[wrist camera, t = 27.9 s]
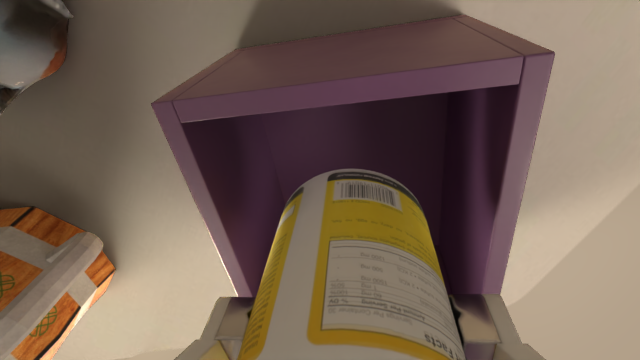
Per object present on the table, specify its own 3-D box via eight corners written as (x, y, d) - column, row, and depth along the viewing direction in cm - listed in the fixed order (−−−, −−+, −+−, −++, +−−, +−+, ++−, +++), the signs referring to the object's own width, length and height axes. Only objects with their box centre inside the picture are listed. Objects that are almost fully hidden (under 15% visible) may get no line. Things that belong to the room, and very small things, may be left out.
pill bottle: (299, 270, 17) (224, 654, 8) (268, 168, 14) (60, 634, 4) (424, 265, 16) (524, 711, 6) (425, 152, 13) (641, 747, 3)
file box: (234, 49, 20) (149, 103, 12) (465, 13, 18) (557, 51, 10) (291, 250, 30) (265, 358, 21) (447, 244, 27) (485, 362, 19)
